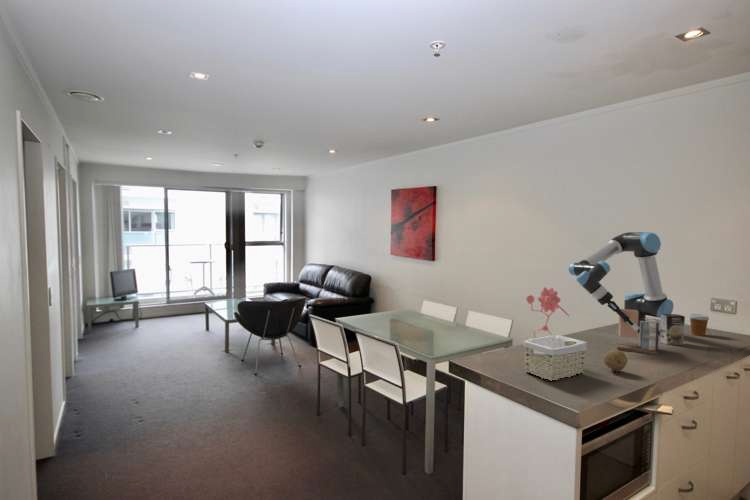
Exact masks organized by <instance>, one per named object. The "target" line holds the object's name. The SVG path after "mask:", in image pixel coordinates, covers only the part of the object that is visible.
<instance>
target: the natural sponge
mask: <svg viewBox="0 0 750 500" xmlns="http://www.w3.org/2000/svg"><path fill="white" fill-rule="evenodd" d="M603 360H604V361H603V362H604V365H606V367H608V368H609V369H610V370H611V371H613V372H615V371H616V372H615V373H619V372H621V371H622V370H623V369H624V368H625V367H626V365H627V363H628V357H627V355H626V354H625V353H624V352H623V351H622V350H617V349H611V350H609V351H607V352H606V353H605V355H604V356H603Z"/></svg>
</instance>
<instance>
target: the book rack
mask: <svg viewBox="0 0 750 500" xmlns="http://www.w3.org/2000/svg"><path fill="white" fill-rule="evenodd" d="M659 325H660V323H659V322H657V321H656V320H655V319H654V317H647V316H646V317H645V321H640V332H639V334H638V337H639V338H638V340H639V341H638V343H632V342H622V341H613V345H614V347H615V348H616V349H615V350H619V351H621V352H623V351H624V352H632V351H633V352H634V353H635V352H636V353H642V352H643V354H652V355H653V354H654V355H659V332H660V331H659V330H660V329H659V328H660V327H659ZM633 352H632V353H633Z"/></svg>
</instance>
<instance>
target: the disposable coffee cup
mask: <svg viewBox="0 0 750 500" xmlns="http://www.w3.org/2000/svg"><path fill="white" fill-rule="evenodd" d="M709 320H710V318H709V316H708V315H707V314H700V313H690V314H689V321H690V330H691V335H693V336H696V337H706V332H707V327H708V322H709Z"/></svg>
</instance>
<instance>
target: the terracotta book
mask: <svg viewBox="0 0 750 500" xmlns="http://www.w3.org/2000/svg"><path fill="white" fill-rule="evenodd" d="M620 310H621V311H622V312H623V313H624V314H625V315H626V316H627V317H629V318H630V319H631V320H632V321H633V322H634V323H635V324H636V325H637V326H638V311H637V310H629V309H624V308H620ZM638 333H639V332H638V330H636V331H635V330H634V329H633V328H632V327H631V326H630V325H629V324H628V323H626V322H624V319H623V318H622V317H620V316H619V315H618V335H619V337H622V338H633V339H639V338H638V337H639V334H638Z"/></svg>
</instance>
